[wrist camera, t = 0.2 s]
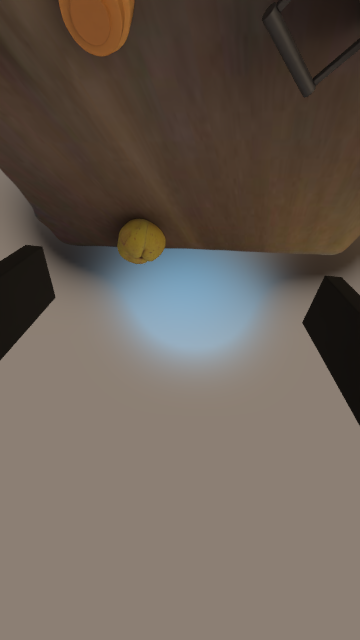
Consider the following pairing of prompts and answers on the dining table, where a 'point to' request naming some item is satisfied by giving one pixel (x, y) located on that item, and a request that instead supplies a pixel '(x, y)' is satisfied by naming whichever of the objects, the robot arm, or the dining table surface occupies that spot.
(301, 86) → the drawer
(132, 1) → the stepped orange cylinder
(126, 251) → the fruit
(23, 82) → the dining table surface
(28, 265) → the robot arm
